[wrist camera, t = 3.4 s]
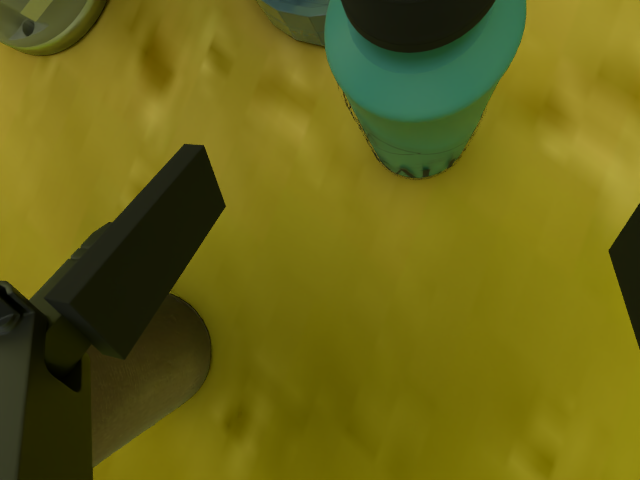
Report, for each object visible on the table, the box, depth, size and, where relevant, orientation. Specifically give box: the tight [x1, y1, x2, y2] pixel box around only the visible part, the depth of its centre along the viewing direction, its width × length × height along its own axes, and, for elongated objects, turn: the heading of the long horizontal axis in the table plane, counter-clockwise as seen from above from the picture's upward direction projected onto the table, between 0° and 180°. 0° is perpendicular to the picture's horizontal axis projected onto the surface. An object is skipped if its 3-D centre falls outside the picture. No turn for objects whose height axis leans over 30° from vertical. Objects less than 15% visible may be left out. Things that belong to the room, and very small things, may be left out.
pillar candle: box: [86, 294, 211, 467], centre depth 25 cm, size 10×10×15 cm
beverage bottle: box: [324, 0, 526, 180], centre depth 17 cm, size 6×7×20 cm
